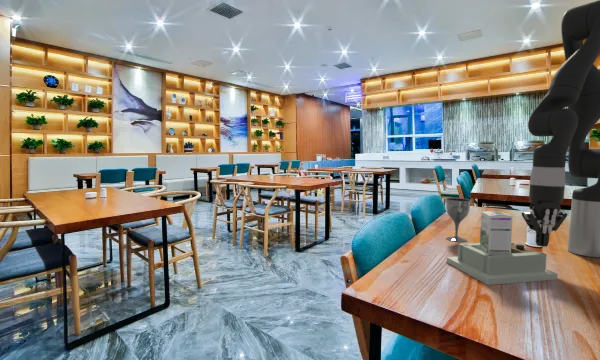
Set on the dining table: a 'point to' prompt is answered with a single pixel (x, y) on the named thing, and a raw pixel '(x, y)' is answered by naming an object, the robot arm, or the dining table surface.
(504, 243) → the syrup box
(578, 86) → the robot arm
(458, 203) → the wine glass
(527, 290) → the dining table surface
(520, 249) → the clamp block
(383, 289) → the dining table surface
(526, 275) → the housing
